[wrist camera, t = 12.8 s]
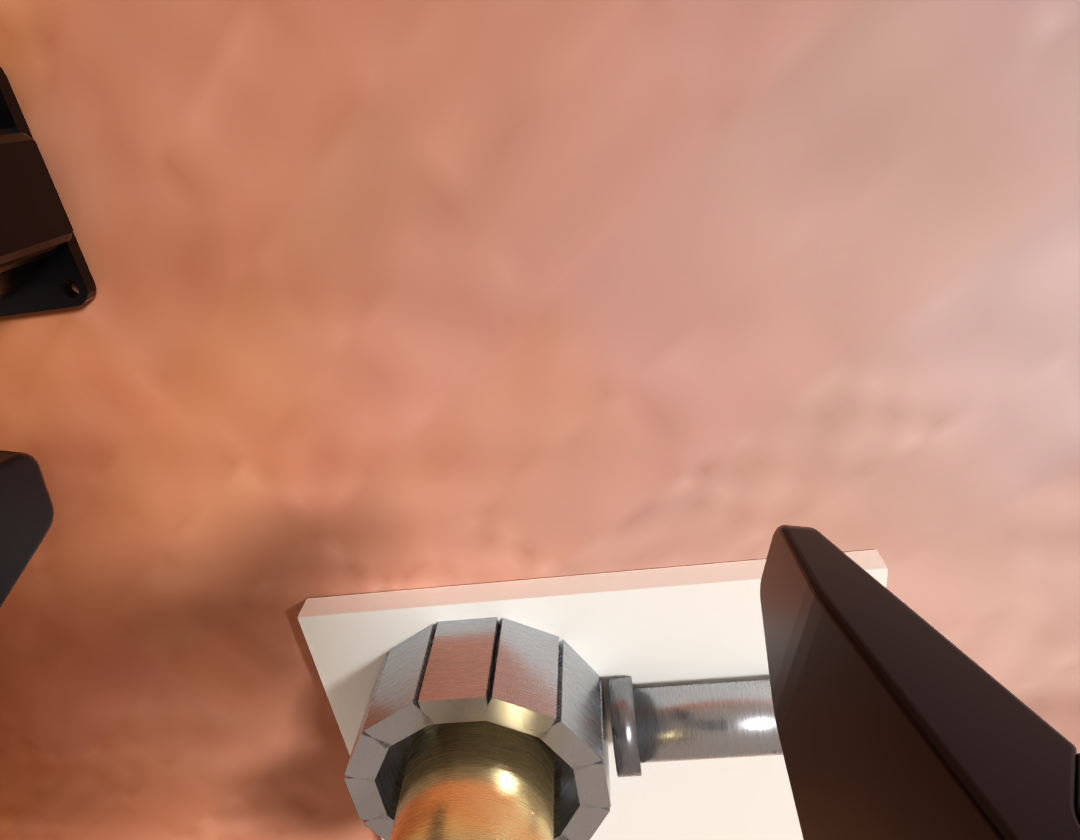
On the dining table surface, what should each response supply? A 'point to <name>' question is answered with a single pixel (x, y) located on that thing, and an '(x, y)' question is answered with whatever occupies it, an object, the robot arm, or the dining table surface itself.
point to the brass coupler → (476, 785)
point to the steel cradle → (544, 716)
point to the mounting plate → (602, 673)
